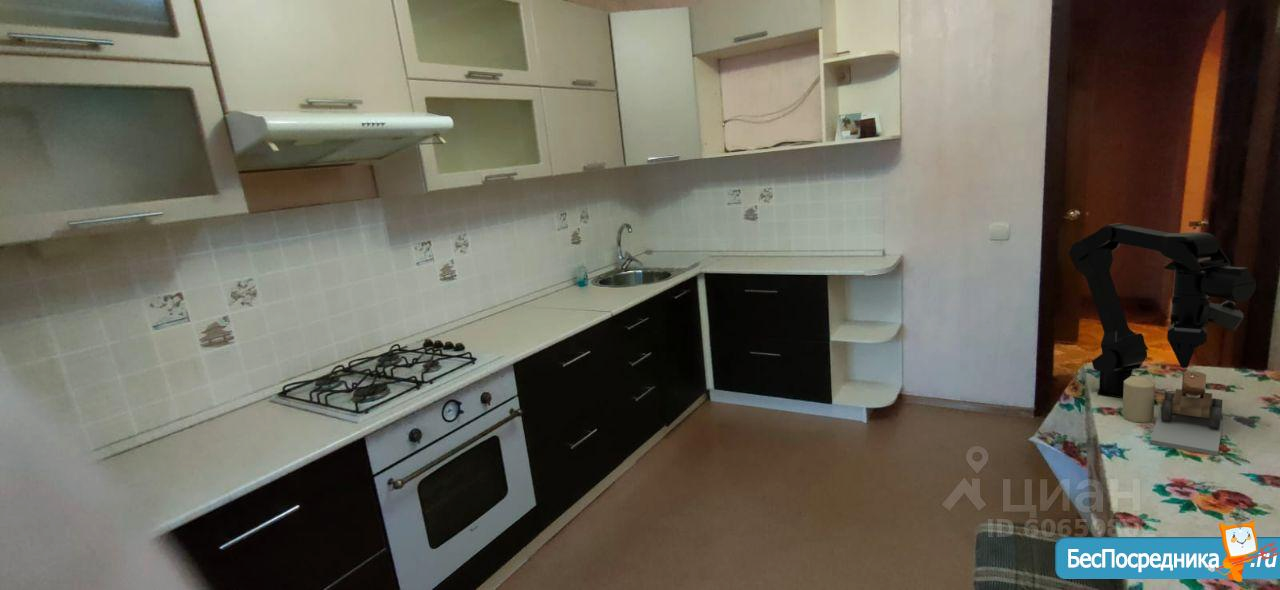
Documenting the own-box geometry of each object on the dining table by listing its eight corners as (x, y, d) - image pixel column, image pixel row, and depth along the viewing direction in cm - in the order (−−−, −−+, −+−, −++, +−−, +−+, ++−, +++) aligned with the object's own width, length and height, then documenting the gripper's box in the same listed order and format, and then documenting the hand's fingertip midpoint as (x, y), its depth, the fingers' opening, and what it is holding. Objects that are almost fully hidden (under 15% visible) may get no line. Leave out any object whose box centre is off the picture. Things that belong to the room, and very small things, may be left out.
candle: (1147, 413, 144) (1149, 372, 142) (1157, 423, 139) (1160, 381, 137) (1118, 412, 146) (1120, 372, 144) (1127, 422, 141) (1129, 381, 138)
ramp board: (1149, 444, 131) (1150, 435, 130) (1160, 412, 143) (1160, 404, 143) (1217, 456, 123) (1218, 446, 123) (1222, 422, 136) (1223, 413, 135)
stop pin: (1179, 414, 137) (1181, 375, 136) (1181, 408, 140) (1183, 370, 138) (1202, 417, 135) (1205, 378, 133) (1204, 411, 137) (1206, 372, 135)
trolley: (1160, 422, 137) (1161, 400, 136) (1165, 407, 143) (1166, 385, 142) (1219, 432, 130) (1220, 408, 129) (1221, 415, 137) (1223, 392, 135)
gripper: (1244, 306, 122) (1236, 380, 126) (1240, 283, 135) (1234, 352, 139) (1169, 302, 129) (1164, 373, 133) (1173, 281, 143) (1168, 346, 146)
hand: (1185, 360), depth 138 cm, fingers open, 9 cm apart
